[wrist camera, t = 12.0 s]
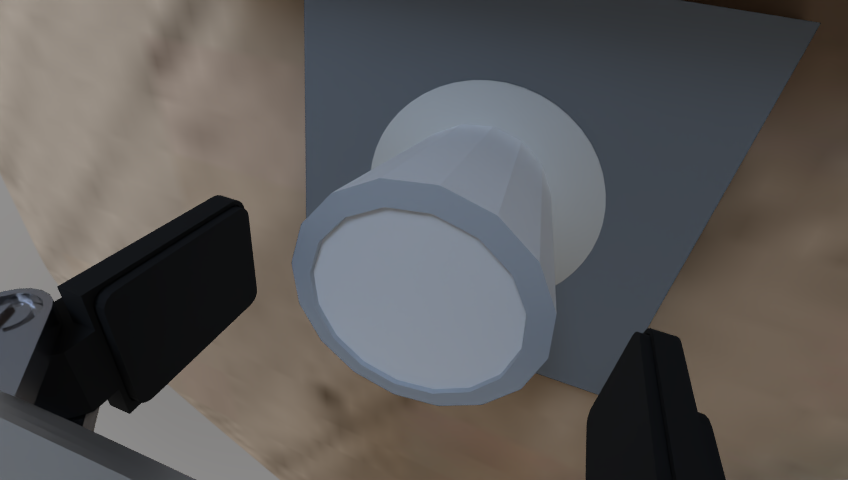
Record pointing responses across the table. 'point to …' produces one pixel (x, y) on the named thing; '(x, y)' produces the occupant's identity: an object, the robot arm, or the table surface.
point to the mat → (561, 126)
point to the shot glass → (436, 269)
